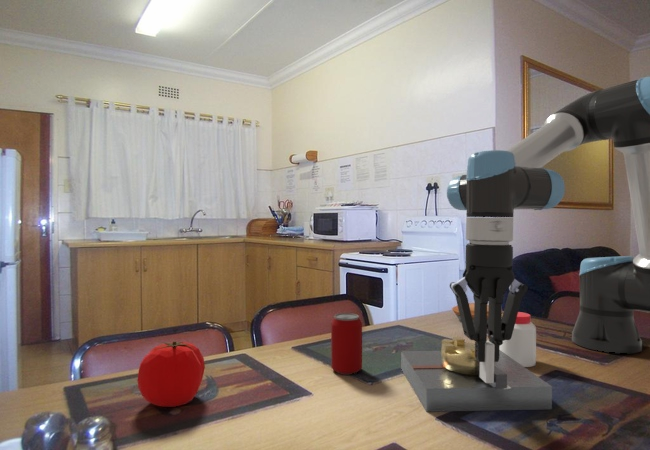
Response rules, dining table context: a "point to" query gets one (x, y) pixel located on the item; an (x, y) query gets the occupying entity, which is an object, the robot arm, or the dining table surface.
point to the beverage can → (346, 343)
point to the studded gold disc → (467, 360)
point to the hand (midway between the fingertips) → (486, 379)
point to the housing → (472, 386)
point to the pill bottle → (522, 341)
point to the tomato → (171, 374)
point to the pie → (470, 310)
